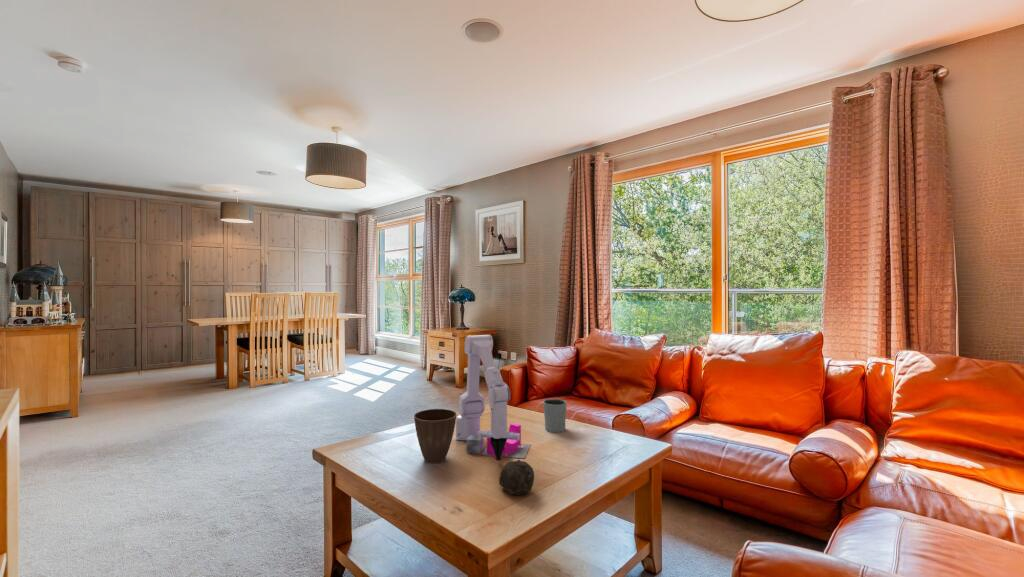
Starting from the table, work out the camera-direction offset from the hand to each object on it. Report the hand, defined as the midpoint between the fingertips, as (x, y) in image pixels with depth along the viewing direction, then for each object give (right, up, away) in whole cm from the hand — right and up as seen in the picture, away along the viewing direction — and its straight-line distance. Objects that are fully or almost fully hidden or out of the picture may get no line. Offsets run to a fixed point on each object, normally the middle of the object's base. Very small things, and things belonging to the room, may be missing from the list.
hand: (498, 459), depth 155 cm
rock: (+6, -2, -21) cm, 22 cm away
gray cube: (-9, -1, +12) cm, 15 cm away
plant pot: (-23, -2, +4) cm, 23 cm away
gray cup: (+23, -2, +37) cm, 44 cm away
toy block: (+3, -1, +13) cm, 13 cm away
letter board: (+3, -1, +13) cm, 13 cm away
